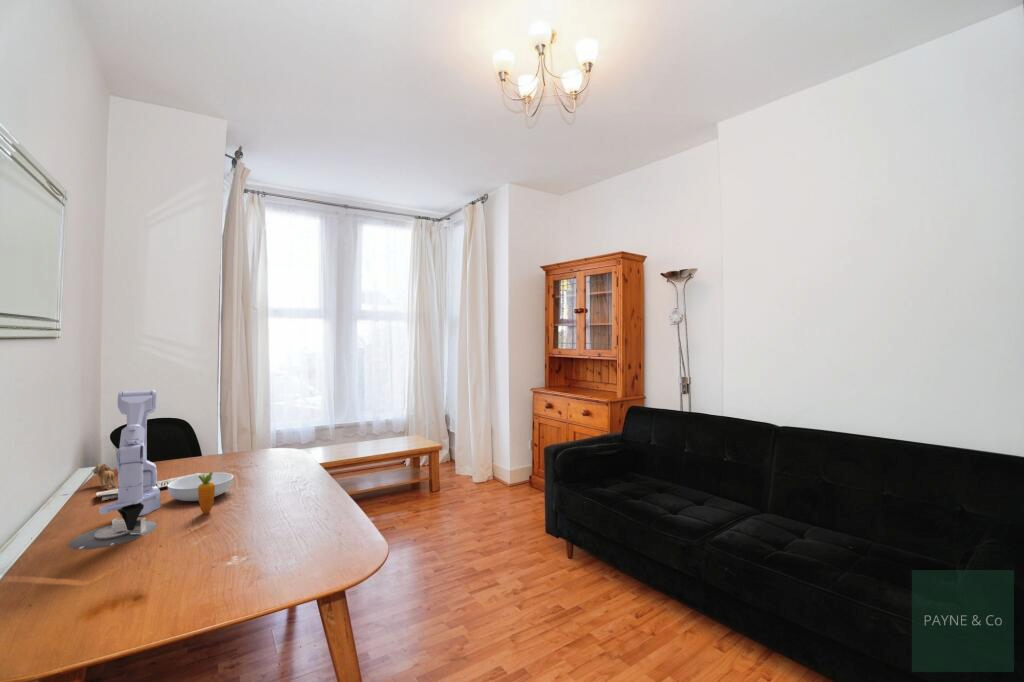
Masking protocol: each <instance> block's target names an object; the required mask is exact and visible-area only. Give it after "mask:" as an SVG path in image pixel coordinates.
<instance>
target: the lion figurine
mask: <svg viewBox="0 0 1024 682" xmlns="http://www.w3.org/2000/svg"><path fill="white" fill-rule="evenodd" d="M96 465H97V466H96V467H95V468H94V469H92V470H91V472H92V473H93V474H94V475H96V474H97V476H98V478H99V482H100V484H99V485H98V487H99V486H100V485H103V486H104V485H105V488H104V490H105V489H107V490H109V489H110V488H109V486H110V485H111V487H112V488H113V489H117V485H116V483H115V479H116V478H115V473H114V471H112V469H111V468H110V467H109V465H108V464H105V463H99V464H96ZM109 483H110V484H109ZM100 487H101V486H100ZM108 488H109V489H108Z"/></svg>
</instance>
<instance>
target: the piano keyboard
mask: <svg viewBox="0 0 1024 682" xmlns="http://www.w3.org/2000/svg"><path fill="white" fill-rule="evenodd" d="M197 474H203V473H202V472H196V473H191V474H186V475H182V476H177V477H171V478H166V479H161V480H157V484H156V487H158V488H159V490H163V489H168V487H167V485H168V484H169V483H170V482H172V481H174V480H177V479H180V478H183V477H187V476H192V475H197ZM95 495H96V497H98V498H99V497H101V496H102V497H101V502H106V501H105V500H107V501H110V500H109V499H111V500H115V499H114V498H116V499H118V488H113V489H107V490H102V491H98V492H96V493H95Z"/></svg>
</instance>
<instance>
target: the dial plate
mask: <svg viewBox="0 0 1024 682" xmlns="http://www.w3.org/2000/svg"><path fill="white" fill-rule="evenodd" d="M108 526H112V524H110V525H106V526H102V527H98V528H95V529H92V530H90V531H87V532H85V533H82V534H80V535H78V536H76V537H74V538H73V539H72V540H71V541H69V543H68V548H69V549H74V550H81V551H82V550H96V549H102V548H108V547H113V546H116V545H117V546H118V545H122V544H125V543H127V542H132V541H133V540H137V539H139V538H142V537H145V536H146V535H149V534H150V533H152V532H153V531H154V530H155V529H156V528H157V523H156V522H154V521H149V520H146V531H144V532H142V533H130V534H128V535H126V536H123V537H120V538H116V539H112V540H105V541H98V540H95V532H96V531H98V530H100V529H102V528H105V527H108Z"/></svg>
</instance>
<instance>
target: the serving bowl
mask: <svg viewBox="0 0 1024 682" xmlns="http://www.w3.org/2000/svg"><path fill="white" fill-rule="evenodd" d="M209 473H210V472H208V473H207V472H206V473H202V474H197V475H192V476H187V477H183V478H180V479H177V480H174V481H172V482H170V483H169V484H168V485H167V487H168V488H167V491H168V493H169V495H170V496H171V497H172V498H173V499H175V500H178V501H183V502H199V496H198V486H199V485H200V484H203V482H202V481H201V479H200V478H199V477H198V476H199V475H201V476H202V477H203V475H205V478H206V476H207V475H209ZM211 477H212V479H211V480H210V481H209V482H212V483H214V486H215V492H214V498H215V497H217V496H219V495H222V494H224V493H225V492H227V490H229V488H230V487H231V486H232V484H233V481H234V474H232V473H230V472H229V473H228V472H212V476H211Z"/></svg>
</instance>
